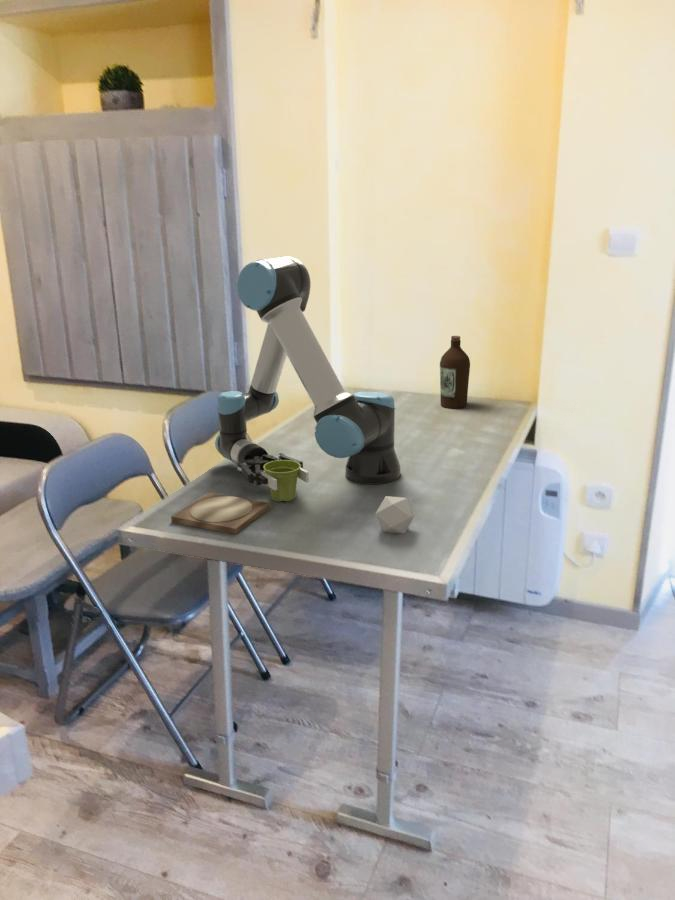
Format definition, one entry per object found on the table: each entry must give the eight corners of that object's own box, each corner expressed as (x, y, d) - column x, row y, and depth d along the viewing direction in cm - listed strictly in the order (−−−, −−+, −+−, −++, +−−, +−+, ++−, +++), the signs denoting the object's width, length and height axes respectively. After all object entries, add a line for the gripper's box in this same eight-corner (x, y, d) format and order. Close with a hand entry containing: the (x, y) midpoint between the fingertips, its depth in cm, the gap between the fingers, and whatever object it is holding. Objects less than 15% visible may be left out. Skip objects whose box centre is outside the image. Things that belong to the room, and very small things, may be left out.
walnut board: (270, 508, 186) (269, 501, 185) (235, 534, 172) (235, 527, 172) (209, 497, 193) (208, 491, 193) (171, 522, 180) (171, 515, 179)
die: (418, 527, 176) (399, 490, 177) (423, 524, 167) (403, 485, 169) (387, 542, 175) (368, 505, 176) (390, 540, 166) (370, 501, 168)
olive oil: (451, 399, 278) (453, 332, 269) (474, 405, 270) (477, 336, 262) (432, 405, 271) (434, 336, 263) (455, 411, 263) (458, 340, 255)
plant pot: (282, 487, 198) (281, 457, 195) (309, 496, 193) (308, 464, 190) (257, 498, 191) (255, 467, 189) (284, 507, 186) (282, 475, 183)
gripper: (284, 461, 211) (327, 485, 193) (215, 477, 200) (254, 504, 182) (283, 436, 208) (327, 458, 191) (213, 451, 198) (252, 476, 180)
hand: (291, 481), depth 186 cm, fingers closed on plant pot, 8 cm apart
